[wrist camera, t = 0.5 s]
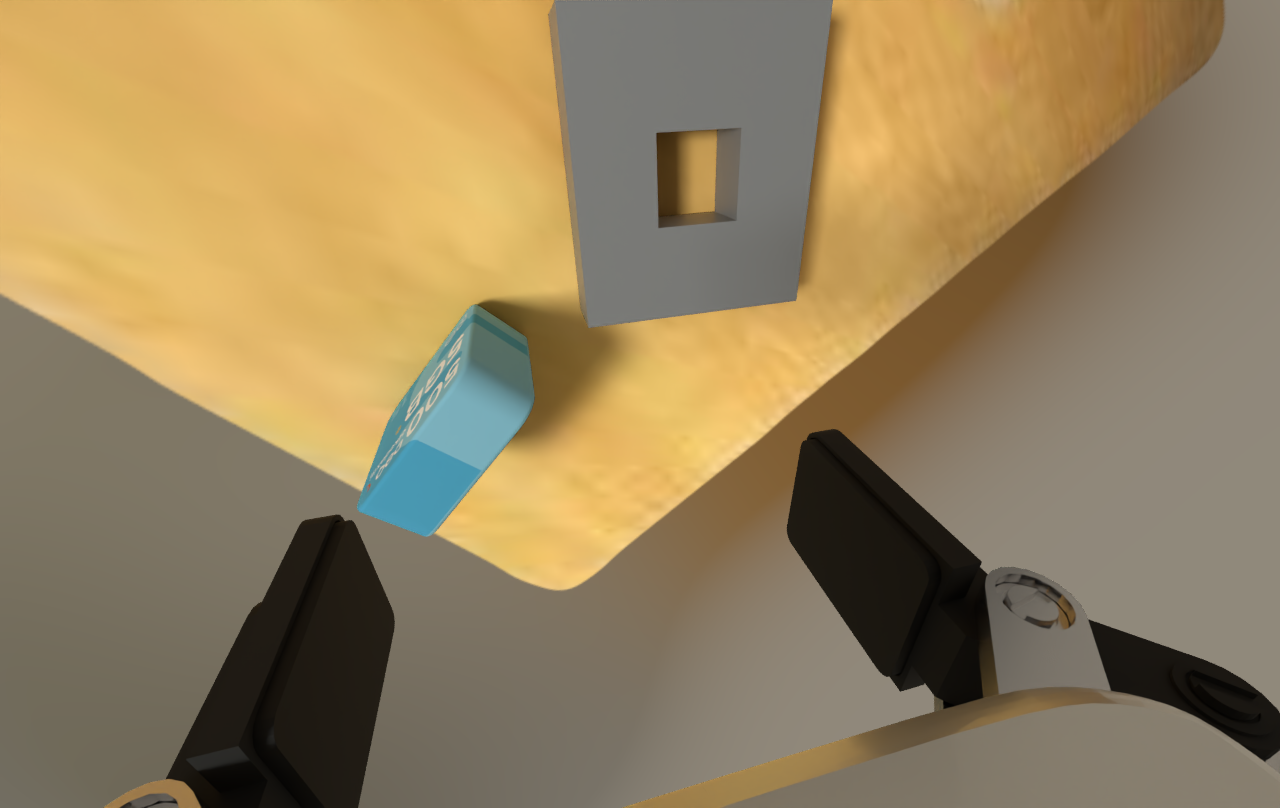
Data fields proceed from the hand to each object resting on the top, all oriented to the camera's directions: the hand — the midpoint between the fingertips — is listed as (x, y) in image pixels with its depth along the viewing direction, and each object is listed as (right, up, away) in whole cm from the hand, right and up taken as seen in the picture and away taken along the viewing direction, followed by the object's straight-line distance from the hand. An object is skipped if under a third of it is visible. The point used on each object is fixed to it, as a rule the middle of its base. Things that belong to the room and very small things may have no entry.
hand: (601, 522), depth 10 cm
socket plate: (+4, +19, +24) cm, 31 cm away
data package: (-13, +5, +28) cm, 31 cm away
